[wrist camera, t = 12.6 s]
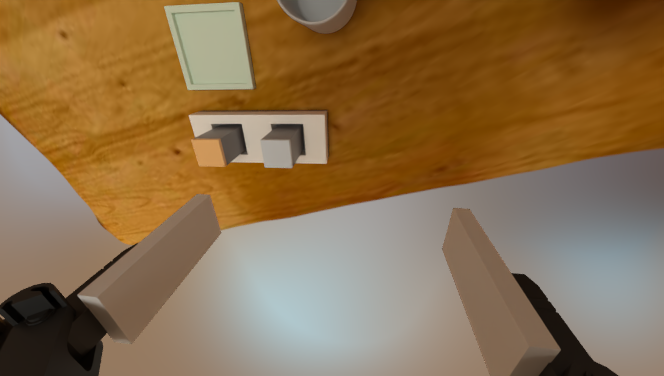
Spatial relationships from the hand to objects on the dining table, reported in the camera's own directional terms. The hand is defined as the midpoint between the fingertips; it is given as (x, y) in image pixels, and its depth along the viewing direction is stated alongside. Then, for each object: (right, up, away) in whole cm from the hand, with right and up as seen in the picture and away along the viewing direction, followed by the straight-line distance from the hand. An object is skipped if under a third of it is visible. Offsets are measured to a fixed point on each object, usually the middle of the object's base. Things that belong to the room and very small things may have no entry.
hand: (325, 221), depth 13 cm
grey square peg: (-6, +11, +28) cm, 31 cm away
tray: (-18, +23, +24) cm, 37 cm away
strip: (-11, +11, +29) cm, 33 cm away
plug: (-16, +11, +29) cm, 35 cm away
